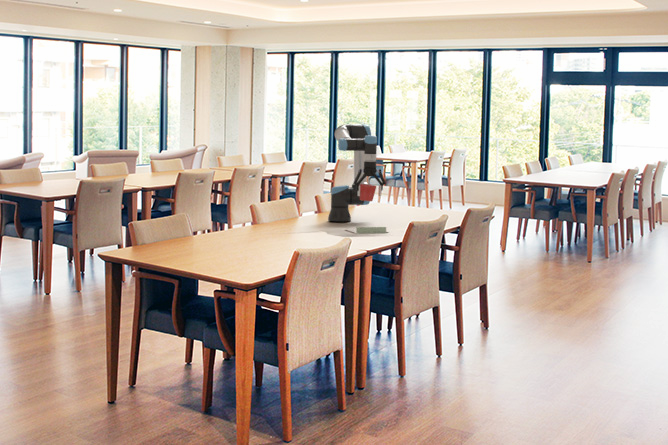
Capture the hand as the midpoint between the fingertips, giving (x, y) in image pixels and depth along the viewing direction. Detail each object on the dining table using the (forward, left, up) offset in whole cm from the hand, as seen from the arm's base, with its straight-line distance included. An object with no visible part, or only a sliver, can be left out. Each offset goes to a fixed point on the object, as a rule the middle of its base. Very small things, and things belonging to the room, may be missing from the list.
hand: (369, 196), depth 468 cm
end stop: (+14, -3, -21) cm, 26 cm away
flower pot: (0, -2, -3) cm, 4 cm away
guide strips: (+5, -3, -21) cm, 22 cm away
